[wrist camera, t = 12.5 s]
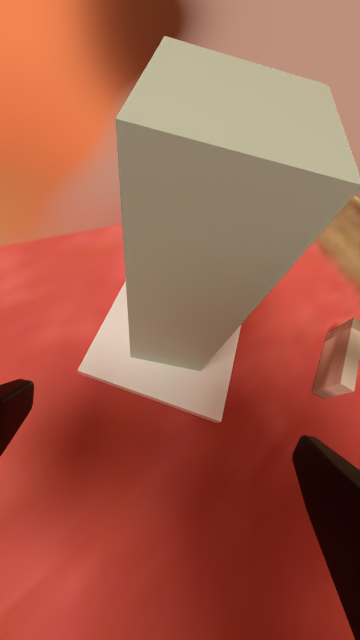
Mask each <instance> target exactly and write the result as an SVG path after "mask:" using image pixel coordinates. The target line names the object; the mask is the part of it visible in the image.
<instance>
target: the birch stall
mask: <svg viewBox="0 0 360 640" xmlns="http://www.w3.org/2000/svg"><path fill="white" fill-rule="evenodd" d="M359 361H360V321H358V320H356V319H355V318H352V319H351V320H349V321H347V322H346V323H344V324H342V325H340V326H339V327H337V328H335V329H334V330H332V331H330V332H328V333H327V336H326V339H325V343H324V347H323V351H322V355H321V359H320V362H319V366H318V370H317V374H316V378H315V382H314V385H313V389H312V392H313V393H314V394H316V395H318V396H320V397H321V398H323V399H325V398H329V397H333V396H337V395H341V394H345V393H349V392H354V390H355V384H356V378H357V372H358V366H359Z"/></svg>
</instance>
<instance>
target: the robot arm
mask: <svg viewBox="0 0 360 640" xmlns="http://www.w3.org/2000/svg"><path fill="white" fill-rule="evenodd" d="M33 395H34V383H33V382H32V381H29V380H24V379H17V380H14V381H11V382H8V383H5V384H2V385H0V456H1V455H2V453H3V452H4V450H5V449H6V447H7V446H8V444H9V443H10V441H11V440H12V438H13V437H14V435H15V434H16V432H17V431H18V429H19V427H20V426H21V424H22V423H23V421H24V420H25V418H26V417H27V415H28V414H29V412H30V410H31V408H32V405H33ZM292 459H293V464H294V467H295V471H296V474H297V478H298V481H299V485H300V489H301V492H302V496H303V499H304V503H305V506H306V509H307V512H308V515H309V518H310V521H311V523H312V526H313V529H314V531H315V534H316V537H317V539H318V542H319V545H320V547H321V550H322V553H323V555H324V558H325V561H326V563H327V566H328V569H329V571H330V574H331V577H332V579H333V582H334V585H335V587H336V590H337V592H338V595H339V598H340V600H341V603H342V606H343V608H344V611H345V614H346V616H347V619H348V622H349V624H350V627H351V630H352V632H353V635H354V638H355V640H360V470H359V469H357V468H356V467H355V466H353V465H352V464H351V463H349V462H348V461H347V460H345V459H344V458H342V457H341V456H340V455H338V454H337V453H336V452H334V451H333V450H332V449H330V448H329V447H328V446H326V445H325V444H324V443H322V442H321V441H320V440H318V439H317V438H315V437H311V436H306V435H303V436H301V437H300V439H299V441H298V443H297V446H296V448H295V450H294V452H293V457H292Z"/></svg>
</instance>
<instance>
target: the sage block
mask: <svg viewBox="0 0 360 640" xmlns="http://www.w3.org/2000/svg"><path fill="white" fill-rule="evenodd" d="M116 132H117V148H118V164H119V180H120V195H121V212H122V228H123V245H124V261H125V277H126V293H127V309H128V325H129V342H130V357H132V358H137V359H142V360H147V361H152V362H157V363H162V364H167V365H172V366H177V367H182V368H186V369H191V370H196V371H201V370H202V369H203V368H204V366H205V365H206V364H207V363H208V362H209V361H210V360H211V358H212V357H213V356H214V355H215V354H216V353H217V352H218V350H219V349H220V348H221V347H222V346H223V345H224V344H225V342H226V341H227V340H228V339H229V338H230V337H231V336H232V334H233V333H234V332H235V331H236V330H237V329H238V328H239V326H240V325H241V324H242V323H243V322H244V321H245V320H246V318H247V317H248V316H249V315H250V314H251V313H252V312H253V311H254V309H255V308H256V307H257V306H258V305H259V304H260V303H261V301H262V300H263V299H264V298H265V297H266V296H267V295H268V293H269V292H270V291H271V290H272V289H273V288H274V287H275V285H276V284H277V283H278V282H279V281H280V280H281V279H282V277H283V276H284V275H285V274H286V273H287V272H288V271H289V269H290V268H291V267H292V266H293V265H294V264H295V263H296V261H297V260H298V259H299V258H300V257H301V256H302V255H303V253H304V252H305V251H306V250H307V249H308V248H309V247H310V246H311V244H312V243H313V242H314V241H315V240H316V239H317V238H318V236H319V235H320V234H321V233H322V232H323V231H324V230H325V228H326V227H327V226H328V225H329V224H330V223H331V222H332V220H333V219H334V218H335V217H336V216H337V215H338V214H339V212H340V211H341V210H342V209H343V208H344V207H345V206H346V204H347V203H348V202H349V201H350V200H351V199H352V198H353V196H354V195H355V194H356V193H357V192H358V191H359V190H360V175H359V172H358V169H357V166H356V163H355V160H354V157H353V155H352V152H351V149H350V146H349V143H348V140H347V137H346V134H345V131H344V128H343V126H342V123H341V120H340V117H339V114H338V111H337V108H336V105H335V102H334V99H333V97H332V94H331V91H330V88H329V85H327V84H324V83H321V82H317V81H314V80H310V79H307V78H304V77H300V76H297V75H293V74H290V73H287V72H284V71H280V70H277V69H273V68H270V67H267V66H264V65H260V64H257V63H253V62H250V61H246V60H243V59H240V58H236V57H233V56H230V55H226V54H223V53H220V52H216V51H213V50H210V49H207V48H203V47H200V46H196V45H193V44H190V43H186V42H183V41H180V40H176V39H173V38H170V37H166V36H164V38H163V40H162V42H161V43H160V45H159V47H158V48H157V50H156V52H155V53H154V55H153V57H152V58H151V60H150V62H149V64H148V65H147V67H146V68H145V70H144V72H143V74H142V75H141V77H140V79H139V80H138V82H137V84H136V85H135V87H134V89H133V90H132V92H131V94H130V95H129V97H128V99H127V100H126V102H125V104H124V106H123V107H122V109H121V111H120V112H119V114H118V116H117V117H116Z"/></svg>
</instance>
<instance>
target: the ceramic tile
mask: <svg viewBox="0 0 360 640" xmlns="http://www.w3.org/2000/svg"><path fill="white" fill-rule="evenodd" d="M240 329H241V325H240V326H239V328H238V329H237V330H236V331H235V332H234V333H233V334H232V336H231V337H230V338H229V339H228V340H227V341H226V342H225V344H224V345H223V346H222V347H221V348H220V349H219V350H218V352H217V353H216V354H215V355H214V356H213V357H212V358H211V360H210V361H209V362H208V363H207V364H206V365H205V366H204V368H203V369H202V370H201V371H196V370H191V369H186V368H182V367H177V366H172V365H167V364H162V363H157V362H152V361H147V360H142V359H137V358H132V357H130V342H129V325H128V309H127V293H126V281H125V283H124V285H123V287H122V289H121V291H120V292H119V294H118V296H117V298H116V300H115V302H114V304H113V305H112V307H111V309H110V311H109V313H108V315H107V316H106V318H105V320H104V322H103V324H102V326H101V328H100V329H99V331H98V333H97V335H96V337H95V339H94V341H93V342H92V344H91V346H90V348H89V350H88V352H87V354H86V355H85V357H84V359H83V361H82V363H81V365H80V367H79V368H78V370H77V371H78V372H79V373H80V374H81V375H84V376H87V377H89V378H92V379H95V380H98V381H101V382H103V383H106V384H109V385H112V386H115V387H117V388H120V389H123V390H126V391H129V392H131V393H134V394H137V395H140V396H143V397H145V398H148V399H151V400H154V401H157V402H159V403H162V404H165V405H168V406H171V407H173V408H176V409H179V410H182V411H185V412H187V413H190V414H193V415H196V416H199V417H201V418H204V419H207V420H210V421H213V422H215V423H219V422H221V421H222V416H223V411H224V406H225V402H226V397H227V392H228V387H229V382H230V377H231V373H232V368H233V363H234V358H235V353H236V349H237V344H238V339H239V334H240Z"/></svg>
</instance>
